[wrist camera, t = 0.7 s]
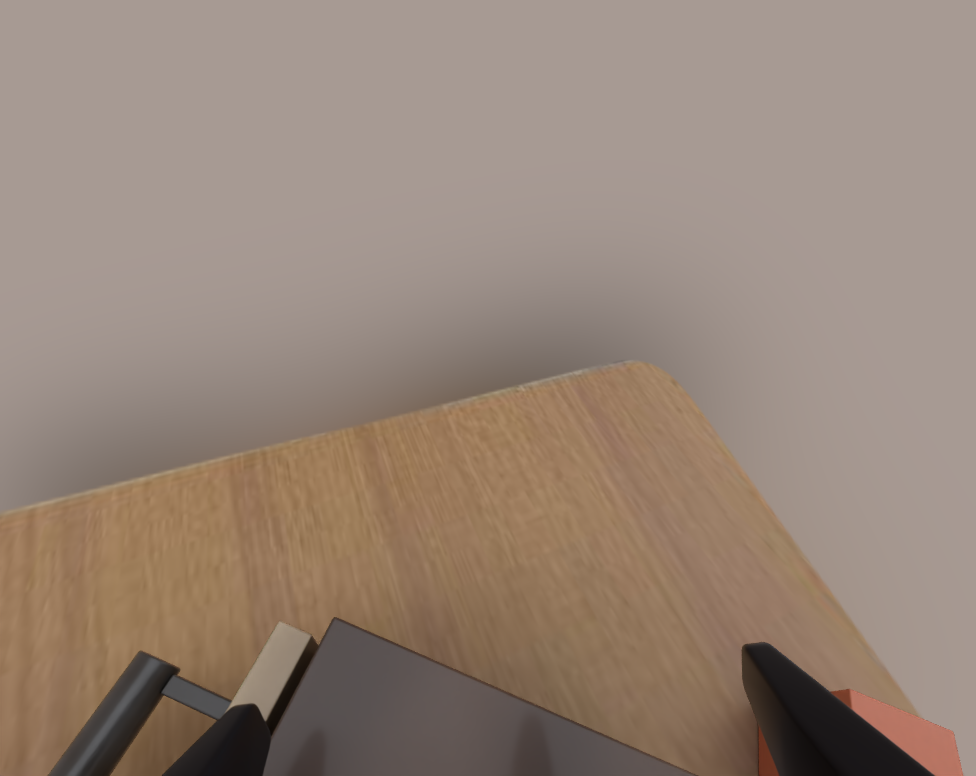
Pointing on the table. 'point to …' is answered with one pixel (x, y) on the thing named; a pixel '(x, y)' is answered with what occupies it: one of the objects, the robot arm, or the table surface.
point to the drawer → (183, 699)
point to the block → (893, 736)
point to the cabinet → (428, 722)
